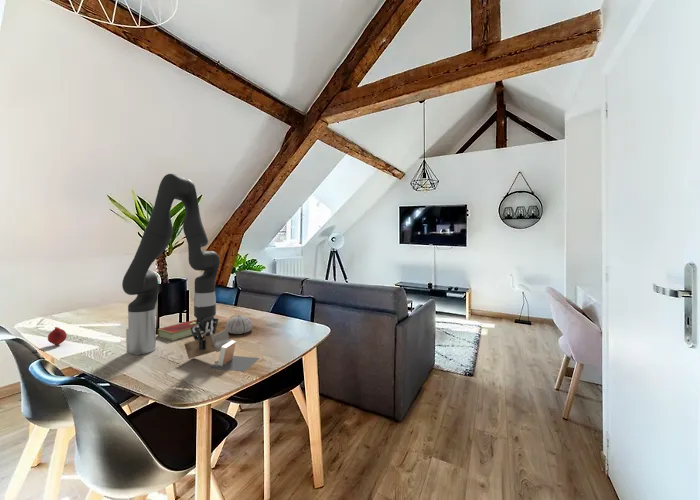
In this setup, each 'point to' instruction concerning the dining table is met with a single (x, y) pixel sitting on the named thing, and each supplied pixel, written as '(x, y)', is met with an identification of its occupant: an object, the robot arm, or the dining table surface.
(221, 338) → the wooden post on base
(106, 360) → the dining table surface
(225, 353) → the tile
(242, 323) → the sea urchin shell
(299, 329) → the dining table surface
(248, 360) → the mat
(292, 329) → the dining table surface
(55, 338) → the onion
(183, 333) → the hardcover book
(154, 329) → the robot arm
